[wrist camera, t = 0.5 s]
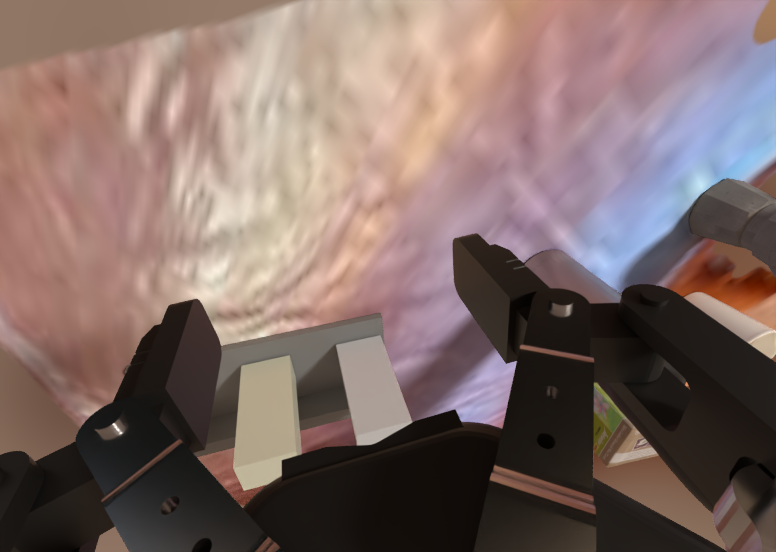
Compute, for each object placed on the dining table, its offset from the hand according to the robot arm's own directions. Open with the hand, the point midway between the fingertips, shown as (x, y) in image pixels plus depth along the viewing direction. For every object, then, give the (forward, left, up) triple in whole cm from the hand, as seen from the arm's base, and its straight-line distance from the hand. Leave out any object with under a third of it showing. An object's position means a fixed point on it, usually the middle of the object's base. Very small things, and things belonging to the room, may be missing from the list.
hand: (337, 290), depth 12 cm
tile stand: (-16, +29, -30) cm, 44 cm away
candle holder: (-72, -16, -30) cm, 79 cm away
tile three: (-24, +19, -28) cm, 42 cm away
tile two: (-15, +27, -28) cm, 42 cm away
